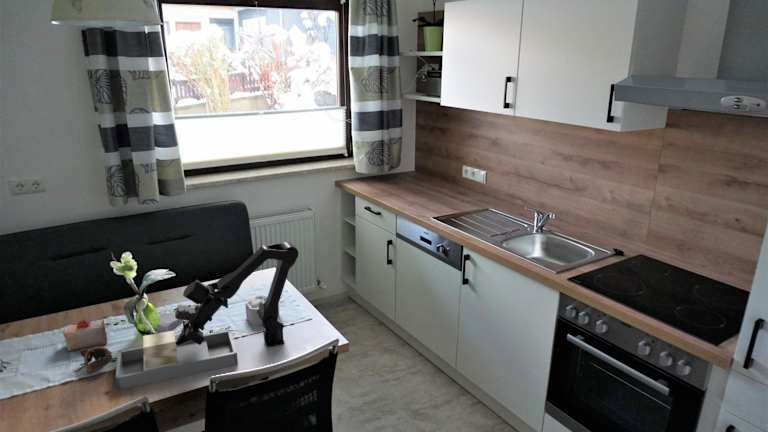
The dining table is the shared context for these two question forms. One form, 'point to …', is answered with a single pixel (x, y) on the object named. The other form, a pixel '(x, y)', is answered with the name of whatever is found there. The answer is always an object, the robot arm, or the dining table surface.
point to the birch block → (160, 349)
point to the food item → (85, 335)
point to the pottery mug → (96, 358)
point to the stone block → (167, 322)
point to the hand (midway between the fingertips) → (176, 344)
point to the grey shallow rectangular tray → (190, 361)
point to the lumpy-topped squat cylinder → (255, 309)
